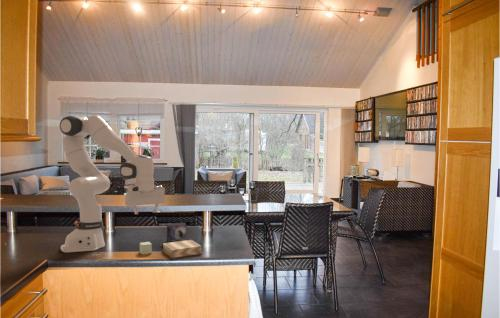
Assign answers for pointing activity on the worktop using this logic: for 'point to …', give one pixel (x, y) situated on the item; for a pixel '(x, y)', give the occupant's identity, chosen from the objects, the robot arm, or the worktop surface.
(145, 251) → the sage cube
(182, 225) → the small box
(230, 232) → the worktop surface
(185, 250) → the birch platform
